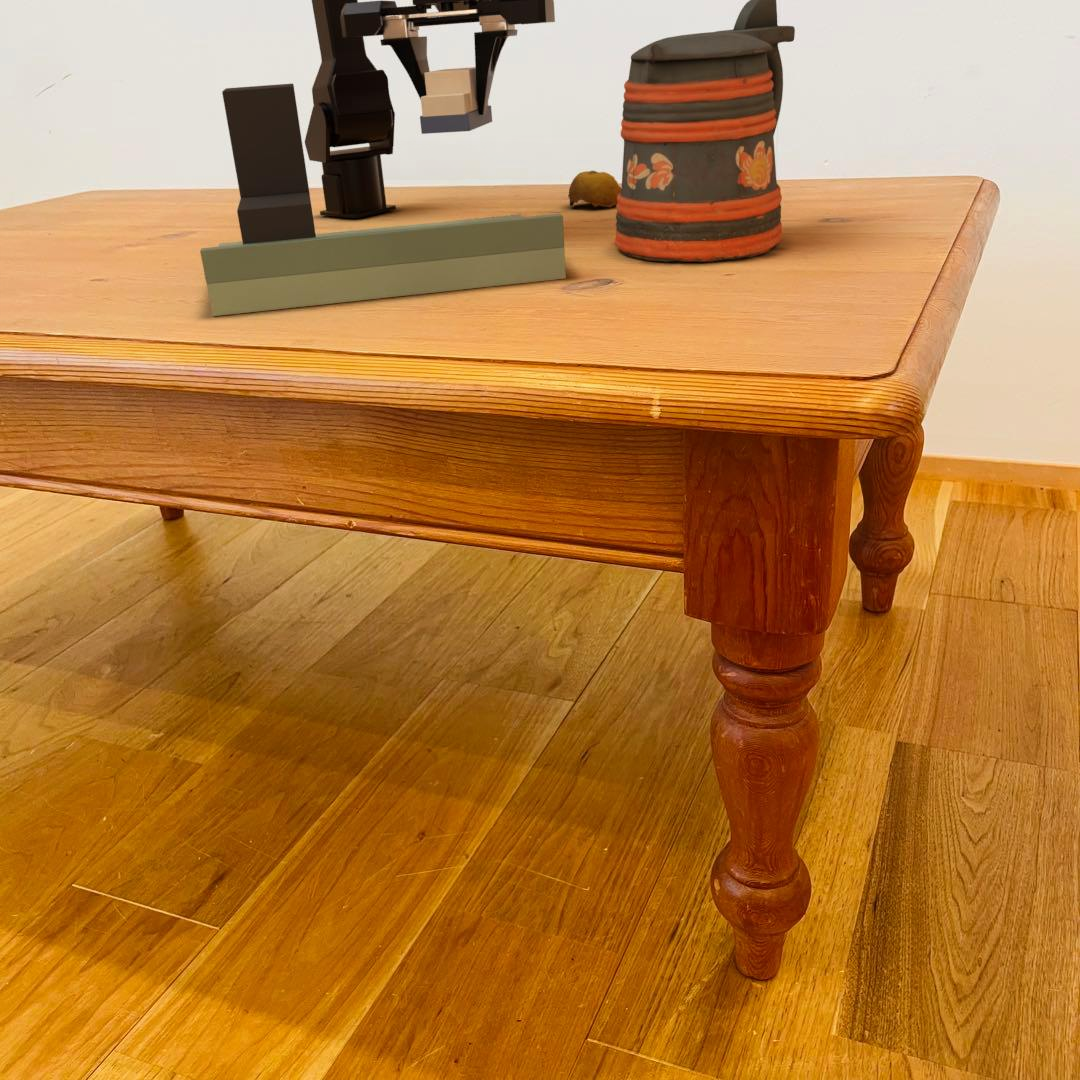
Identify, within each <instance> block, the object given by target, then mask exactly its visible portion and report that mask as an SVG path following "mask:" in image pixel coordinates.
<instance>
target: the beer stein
mask: <svg viewBox="0 0 1080 1080" xmlns="http://www.w3.org/2000/svg"><path fill="white" fill-rule="evenodd" d="M777 7H778V6H777V0H749V1H747V2H745V4H744V5H743V7H742V9H741V10H740V12H739V14H738V16H737V18H736V20H735V23H734V26H733V28H732V29H725V30H717V31H710V32H699V33H689V34H680V35H675V36H669V37H664V38H662V39H658V40H655V41H653V42H650V43H649V44H647V45H645V46H643V47H642V48H639V49H637V50H636V51H635V52H633V53H632V54H631V55H630V66H629V72H628V78H627V80H626V81H625V82H624V85H623V88H624V93H623V99H624V100H623V103H622V120H621V122H620V126H621V129H620V137H621V138H622V140H623V152H622V153H623V155H622V172H621V192H620V193H619V194H618V196H617V201H618V203H617V206H616V205H615V207H616V214H615V218H616V222H615V239H614V246H615V247H616V248H617V249H618V250H619V251H620V252H621V253H622V254H624V255H625V256H628V257H630V258H634V259H639V260H645V261H654V262H667V263H668V262H683V263H685V262H686V263H690V262H693V263H695V262H696V263H697V262H700V263H705V262H717V261H723V260H724V261H725V260H740V259H742V258H751V257H755V256H758V255H763V254H765V253H768V252H770V251H771V249H772V248H774V247H775V246H777V245H778V244H779V243H780V242H781V240H782V238H783V230H782V227H783V223H782V221H781V220H782V204H781V203H782V199H783V196H782V193H781V191H782V190H781V186H780V185H779V184H778V182H777V169H776V167H777V166H776V153H775V141H774V138H775V137H774V136H775V132H776V129H777V127H778V126H777V125H778V121H779V118H780V114H781V109H782V102H783V93H784V71H783V63H782V58H781V53H780V49H779V44H780V43H791V42H794V40H795V34H796V28H795V26H793V25H778V9H777Z"/></svg>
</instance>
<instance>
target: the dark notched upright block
mask: <svg viewBox="0 0 1080 1080" xmlns="http://www.w3.org/2000/svg"><path fill="white" fill-rule="evenodd" d="M221 94H222V100H223V105H224V110H225V116H226V117H225V118H226V122H227V127H228V133H229V139H230V145H231V151H232V156H233V157H232V158H233V162H234V168H235V174H236V180H237V185H238V186H237V187H238V191H239V197H240V199H239V203H238V206H237V210H236V213H237V220H238V224H239V230H240V235H241V241H242V242H243V244H251V243H261V242H271V241H282V240H292V239H302V238H313V237H316V234H317V233H316V229H315V228H316V227H315V221H314V213H313V207H312V201H311V194H310V187H309V180H308V175H307V166H306V161H305V153H304V147H303V140H302V133H301V132H302V131H301V126H300V120H299V112H298V106H297V99H296V92H295V85H294V83H281V84H269V85H268V84H267V85H254V86H252V85H251V86H239V87H226V88H225V89H223V90H222V91H221Z"/></svg>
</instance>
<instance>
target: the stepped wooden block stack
mask: <svg viewBox="0 0 1080 1080" xmlns="http://www.w3.org/2000/svg"><path fill="white" fill-rule="evenodd" d="M424 74H425V84H426V94H427V96H422V97H421V99H420V107H421V114H422V115H419V121H420V130H421V134H422V135H427V134H443V133H459V132H460V133H462V132H471V131H473V130H476V129H478V128H480V127H483V126H486V125H487V124H490V123H492V122H493V114H492V113H493V112H492V111H493V110H492V105H489V103H488V104H487V109H486V113H485V114H484V115H480V114H479V110H478V104H477V96H476V67H475V66H473V67H459V68H445V69H437V70H431V71H430V72H425V73H424Z"/></svg>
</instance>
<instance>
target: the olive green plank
mask: <svg viewBox="0 0 1080 1080" xmlns="http://www.w3.org/2000/svg"><path fill="white" fill-rule="evenodd" d="M564 230H565V228H564V215H563V214H562V213H552V214H550V213H549V214H540V215H529V216H523V215H522V214H521V213H520V214H509V215H501V216H500V215H499V216H489V217H479V218H478V217H477V218H468V219H458V220H447V221H438V222H428V223H427V222H426V223H418V224H416V223H415V224H408V225H407V224H406V225H398V226H397V225H396V226H387V227H386V226H385V227H377V228H376V227H374V228H365V229H355V230H346V231H345V230H344V231H335V232H333V231H332V232H324V233H323V232H322V233H315V234H316V237H313V238H302V239H292V240H282V241H271V242H261V243H251V244H243V242H242V240H240V241H232V242H231V241H230V242H220V243H219V244H218V246H212V247H211V246H210V247H202V248H200V251H199V253H200V257H201V264H202V268H203V272H204V273H203V274H204V277H205V278H204V279H205V283H206V288H207V293H208V299H209V303H210V304H209V305H210V309H211V314H212V317H219V316H221V317H222V316H229V315H236V314H237V315H238V314H239V315H240V314H247V313H256V312H265V311H266V312H267V311H276V310H285V309H294V308H305V307H313V306H324V305H331V304H340V303H350V302H360V301H369V300H377V299H378V300H379V299H386V298H387V299H388V298H397V297H406V296H416V295H424V294H425V295H426V294H434V293H443V292H452V291H453V292H454V291H460V290H461V291H463V290H470V289H471V290H472V289H480V288H489V287H498V286H506V285H507V286H508V285H518V284H526V283H535V282H536V283H537V282H545V281H555V280H563V279H564V280H566V279H567V273H566V270H567V269H566V252H565V251H566V250H565V231H564Z"/></svg>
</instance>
